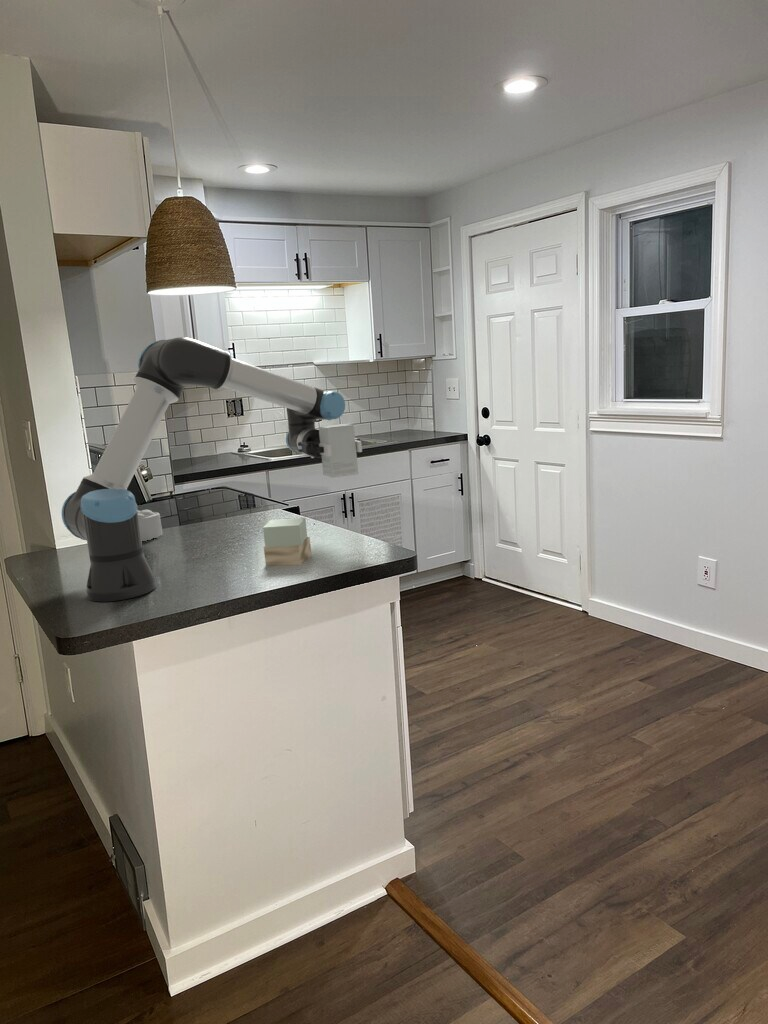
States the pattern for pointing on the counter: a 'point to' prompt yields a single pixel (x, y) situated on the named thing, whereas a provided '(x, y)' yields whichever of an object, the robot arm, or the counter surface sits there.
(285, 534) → the block top
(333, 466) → the supplement box
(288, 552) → the block bottom
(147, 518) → the white bumpy block
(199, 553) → the counter surface
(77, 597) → the counter surface
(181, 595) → the counter surface
